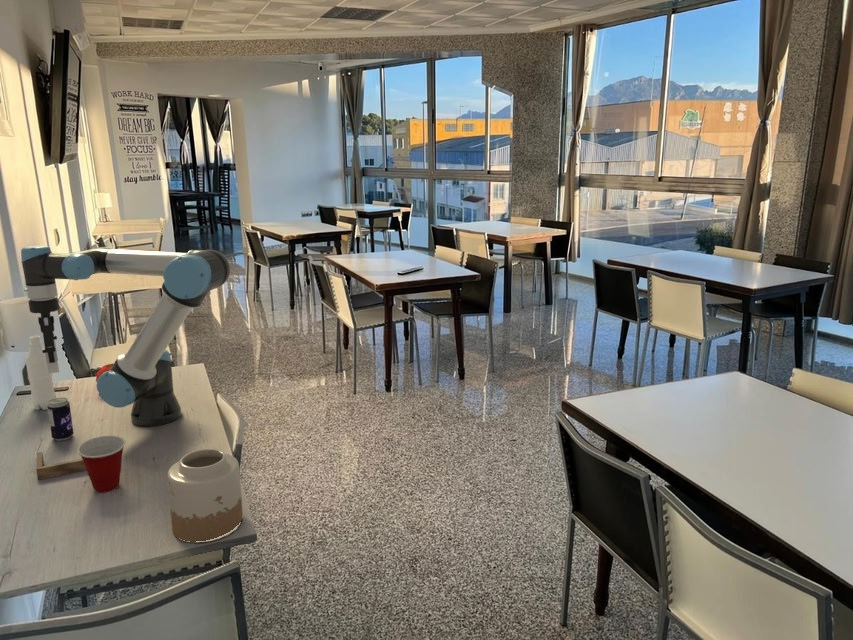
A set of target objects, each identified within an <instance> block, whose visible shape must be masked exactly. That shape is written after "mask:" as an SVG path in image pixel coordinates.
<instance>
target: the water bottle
mask: <svg viewBox="0 0 853 640" xmlns="http://www.w3.org/2000/svg"><path fill="white" fill-rule="evenodd" d="M42 343H43V341H42V339H41V336H40V335H31V336H29V343H28V344H29V345H30V346H29V347H30V348H29V351H28V353H27V354H26V357H25V364H26V372H27V380H28V382H29V385H30V392H31V393H30V394H31V396H30V400H31V405H32V407H33V408H34V409H35V410H36V411H39V410H42V411H43V410H44V411H46V410H47V411H48V407H47V406H48V404H49V403H48V402H49V401H50V400H52V399H55V398H57V395H56V392H55V389H54V384H53V374H54V373H50V374H48V367H47V361H46V354H45V353H43V352H42V350H45V347H44V346H43V345H42Z"/></svg>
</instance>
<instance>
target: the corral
mask: <svg viewBox="0 0 853 640" xmlns="http://www.w3.org/2000/svg"><path fill="white" fill-rule="evenodd" d="M44 463H45V461H44V455H43V451H39V452H37V453H36V469H35V470H36V475H37V480H38V481H39V480H44V479H49V478H53V477H59V476H63V475H68V474H69V475H70V474H74V473H79V472H84V471H87V469H86V466H85V463H84V461H83V459H82V458H78V459H74V460H73V459H72V460H68V461H63V462H59V463H58V462H57V463H54V464H53V463H52V464H48V465H45V464H44Z"/></svg>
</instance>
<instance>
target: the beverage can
mask: <svg viewBox="0 0 853 640" xmlns="http://www.w3.org/2000/svg"><path fill="white" fill-rule="evenodd" d="M48 403H49V404H48V406H47V407H48V409H47V413H48V420H49V426H50V427H49V428H50V434H51V438H52V439H54V440H55V441H61V440H62V441H65V440H68V439H71V437H72V436H73V435H74V428H73V427H74V426H73V420H72V419H73V418H72V412H71V404H70V402H69V400H68V398H67V397H56V398H55V399H52V400H50V401H49V402H48Z"/></svg>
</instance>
